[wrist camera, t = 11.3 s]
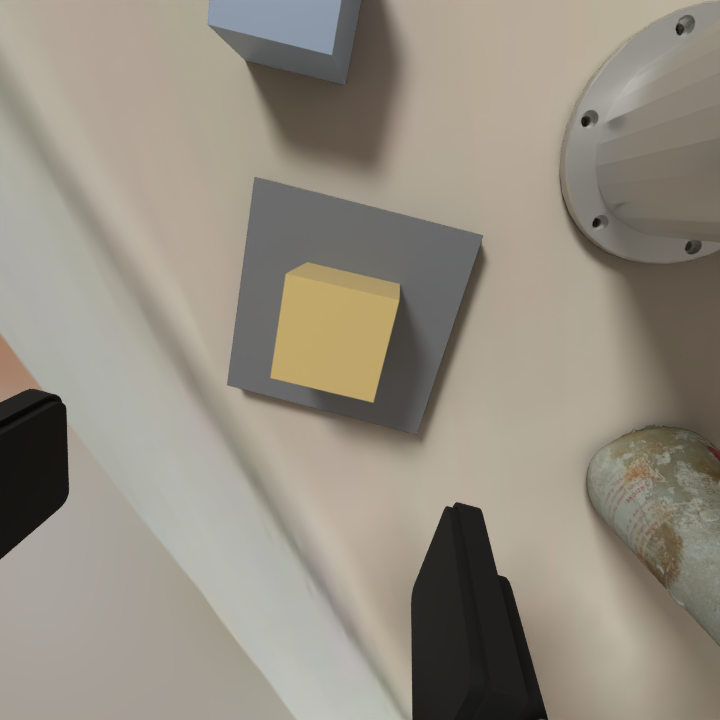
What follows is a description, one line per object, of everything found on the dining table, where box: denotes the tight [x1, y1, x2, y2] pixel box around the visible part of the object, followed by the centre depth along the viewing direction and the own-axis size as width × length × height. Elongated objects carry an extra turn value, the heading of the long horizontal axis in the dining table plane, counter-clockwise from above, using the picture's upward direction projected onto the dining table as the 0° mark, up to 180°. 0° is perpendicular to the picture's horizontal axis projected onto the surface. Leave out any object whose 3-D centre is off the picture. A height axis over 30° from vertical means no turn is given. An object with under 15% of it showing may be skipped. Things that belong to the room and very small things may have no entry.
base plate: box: [227, 177, 483, 435], centre depth 27 cm, size 14×14×2 cm
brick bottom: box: [270, 262, 400, 402], centre depth 24 cm, size 6×6×5 cm
